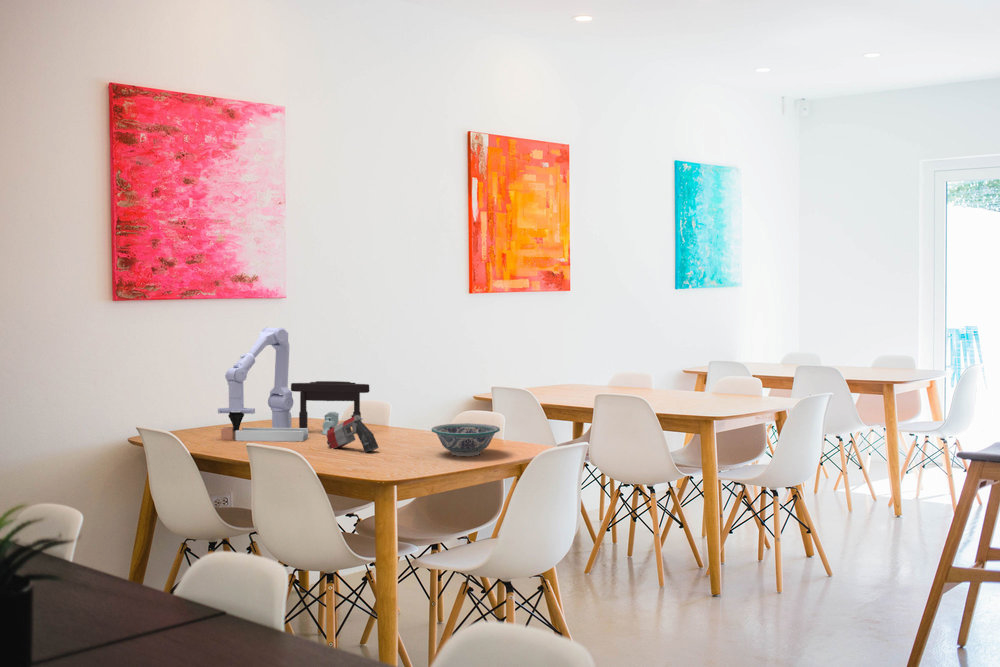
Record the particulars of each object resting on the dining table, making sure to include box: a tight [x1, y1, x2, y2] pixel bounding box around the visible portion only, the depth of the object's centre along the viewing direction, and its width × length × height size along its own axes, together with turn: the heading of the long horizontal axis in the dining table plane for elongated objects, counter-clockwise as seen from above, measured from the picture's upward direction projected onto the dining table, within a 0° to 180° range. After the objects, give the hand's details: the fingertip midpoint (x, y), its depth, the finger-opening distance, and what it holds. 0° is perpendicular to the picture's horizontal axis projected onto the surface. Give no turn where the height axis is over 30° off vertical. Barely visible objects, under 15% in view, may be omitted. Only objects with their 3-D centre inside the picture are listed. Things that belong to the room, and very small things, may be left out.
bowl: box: [431, 422, 501, 457], centre depth 353 cm, size 25×25×10 cm
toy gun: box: [325, 413, 379, 453], centre depth 362 cm, size 5×22×15 cm, turn 56°
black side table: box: [290, 380, 370, 436], centre depth 404 cm, size 16×21×33 cm
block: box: [220, 426, 236, 441], centre depth 386 cm, size 4×4×4 cm
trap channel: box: [235, 427, 309, 442], centre depth 385 cm, size 8×27×4 cm, turn 86°
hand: (236, 431), depth 386 cm, fingers closed
